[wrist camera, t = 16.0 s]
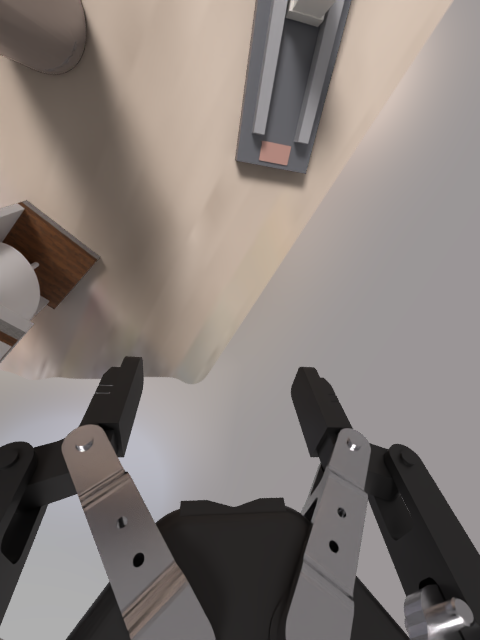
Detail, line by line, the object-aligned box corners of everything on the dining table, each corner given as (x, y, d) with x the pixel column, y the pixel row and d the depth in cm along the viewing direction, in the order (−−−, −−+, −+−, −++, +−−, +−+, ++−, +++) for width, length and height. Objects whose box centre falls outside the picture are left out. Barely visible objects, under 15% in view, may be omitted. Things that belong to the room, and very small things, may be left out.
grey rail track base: (300, 172, 35) (310, 175, 32) (235, 159, 34) (238, 161, 30) (360, -68, 25) (387, -106, 21) (269, -102, 23) (280, -149, 19)
